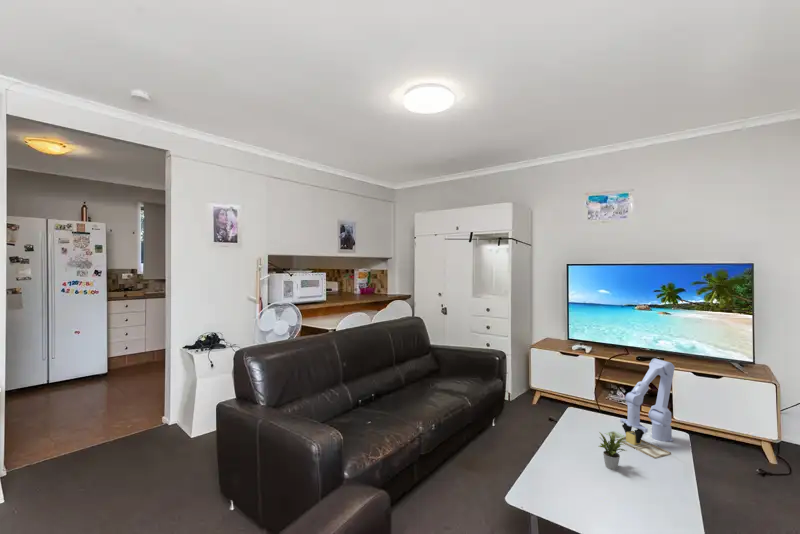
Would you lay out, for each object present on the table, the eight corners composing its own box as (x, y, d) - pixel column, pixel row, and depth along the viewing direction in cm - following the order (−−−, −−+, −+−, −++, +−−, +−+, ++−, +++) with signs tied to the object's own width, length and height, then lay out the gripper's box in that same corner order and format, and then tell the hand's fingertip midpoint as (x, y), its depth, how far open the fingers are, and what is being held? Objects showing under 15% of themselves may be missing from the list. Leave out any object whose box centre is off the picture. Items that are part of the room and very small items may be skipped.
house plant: (635, 478, 177) (635, 442, 176) (602, 474, 179) (602, 439, 179) (623, 462, 191) (624, 429, 190) (593, 459, 193) (593, 426, 193)
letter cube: (632, 439, 213) (632, 430, 213) (641, 443, 208) (641, 434, 208) (625, 441, 211) (625, 431, 211) (634, 445, 207) (634, 435, 206)
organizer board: (618, 430, 226) (618, 428, 226) (672, 455, 197) (672, 452, 197) (601, 434, 221) (601, 432, 221) (655, 460, 192) (655, 457, 192)
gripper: (616, 411, 215) (616, 436, 215) (641, 421, 201) (640, 447, 202) (625, 409, 217) (625, 433, 218) (650, 419, 204) (650, 445, 204)
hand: (633, 440), depth 210 cm, fingers closed on letter cube, 5 cm apart
